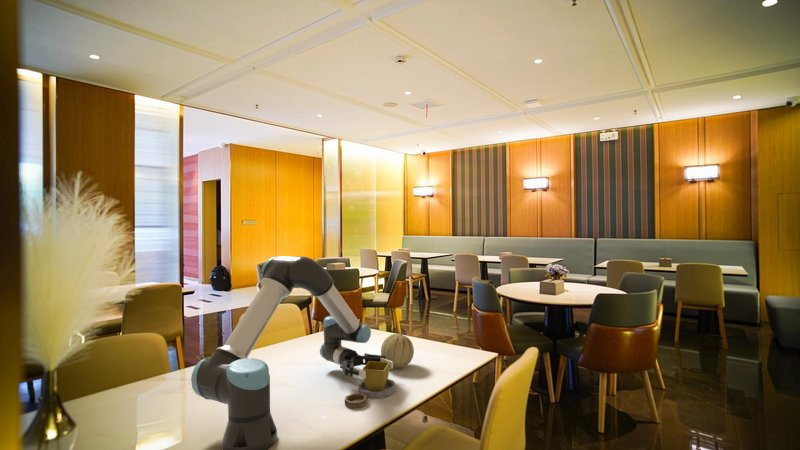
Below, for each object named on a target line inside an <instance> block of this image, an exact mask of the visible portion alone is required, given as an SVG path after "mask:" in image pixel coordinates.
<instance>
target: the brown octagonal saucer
mask: <svg viewBox="0 0 800 450" xmlns="http://www.w3.org/2000/svg"><path fill="white" fill-rule="evenodd" d="M367 401H368V398H367V396H366V395H364V394H362V393H359V392H358V393H357V392H354V393H350V394H348V395H346V396H345V398H344V405H345V407H346V408H348V409H351V410H352V409H353V410H356V409H361V408H365V406H366V405H367Z"/></svg>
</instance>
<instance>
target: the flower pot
mask: <svg viewBox="0 0 800 450" xmlns="http://www.w3.org/2000/svg"><path fill="white" fill-rule="evenodd" d="M389 365H390V363H389V362H375V361H369V362H368V363H367V364H366V365H364V366H363V367H362V370H364V371H366V379H363V381H364V383H365V385H366V387H367V389H368V390H369V391H382V390H383V388H384V387H385V384H386V382H387V380H388V379H389V374H390V368H389Z"/></svg>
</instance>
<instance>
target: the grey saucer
mask: <svg viewBox="0 0 800 450" xmlns="http://www.w3.org/2000/svg"><path fill="white" fill-rule="evenodd" d="M396 389H397V384H396V383H395V381H394V380H393V379H390V378H388V380H387V382H386V384H385V387H384V388H383V390H382V391H369V390H368V389H367V387H366V385H365V383H364V380H363V381H361V382H359V384H358V385H357V390H358V393H362V394H364V395H366V396H367V399H383V398H388V397H389V396H392V395H393V394H395V392H396Z"/></svg>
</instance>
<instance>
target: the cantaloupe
mask: <svg viewBox="0 0 800 450" xmlns="http://www.w3.org/2000/svg"><path fill="white" fill-rule="evenodd" d="M414 349H415V348H414V345H413V342H412V340H411V339H410V338H409V337H408V336H406V335H404V334H403V333H402V331H400V332H399V333H393V334H390V335H388V336H387V337H386V338H385V339H384V340H383V341H382V345H381V347H380V355H383V356H386V359H387V360H389V361H392V362H393V369H402V368H405V367H407V366H408V365H409V364H410V363H411V362H412V360H413V359H414V355H415V353H414V352H415V350H414Z"/></svg>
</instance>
